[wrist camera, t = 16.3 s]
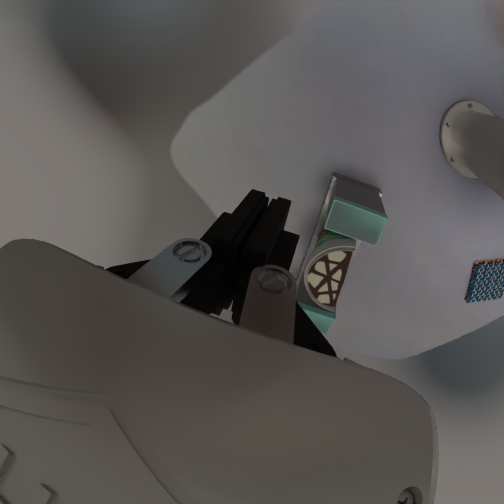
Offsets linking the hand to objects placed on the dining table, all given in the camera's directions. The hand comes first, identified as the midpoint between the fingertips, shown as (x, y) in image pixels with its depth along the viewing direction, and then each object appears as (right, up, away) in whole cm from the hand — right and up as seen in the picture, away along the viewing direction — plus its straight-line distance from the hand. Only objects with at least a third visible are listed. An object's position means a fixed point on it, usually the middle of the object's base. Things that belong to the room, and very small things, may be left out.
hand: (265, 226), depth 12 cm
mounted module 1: (+12, -7, +39) cm, 42 cm away
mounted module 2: (+15, +7, +28) cm, 32 cm away
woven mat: (+48, -6, +28) cm, 56 cm away
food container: (+12, +1, +34) cm, 36 cm away
